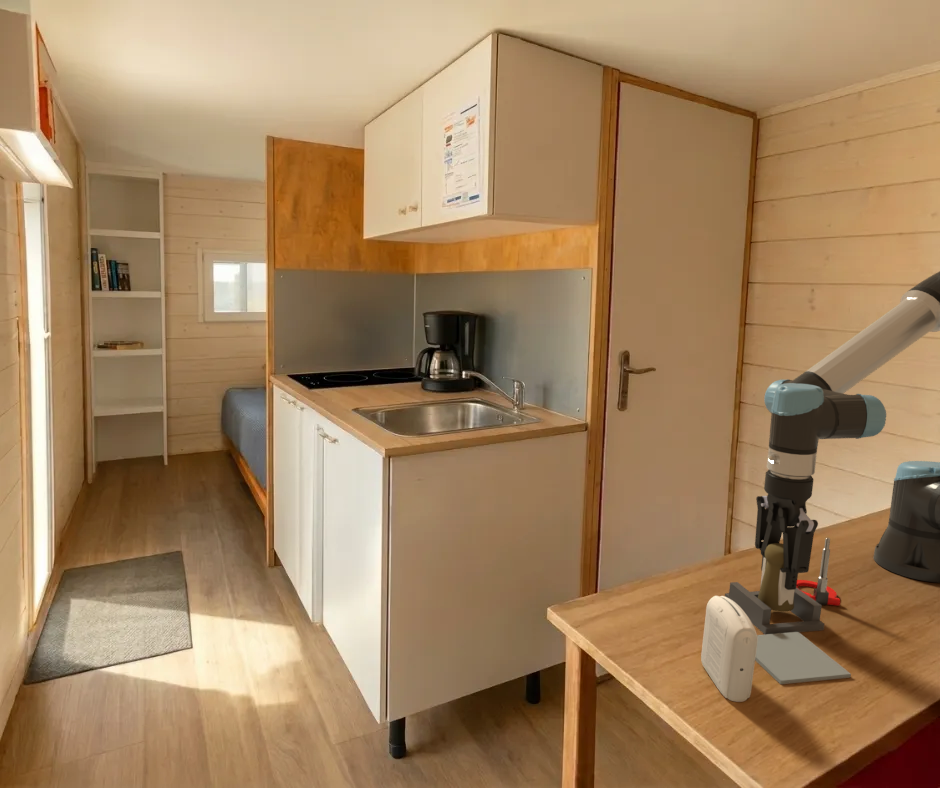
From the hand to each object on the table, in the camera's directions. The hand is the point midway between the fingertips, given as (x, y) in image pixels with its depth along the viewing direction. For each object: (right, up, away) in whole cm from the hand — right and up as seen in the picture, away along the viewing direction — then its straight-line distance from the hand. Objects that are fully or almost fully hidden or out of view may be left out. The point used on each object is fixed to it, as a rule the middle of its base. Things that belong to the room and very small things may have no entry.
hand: (776, 597), depth 117 cm
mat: (-4, -6, -13) cm, 15 cm away
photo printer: (-17, -7, -20) cm, 27 cm away
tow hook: (+11, -2, +9) cm, 14 cm away
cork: (0, -1, 0) cm, 1 cm away
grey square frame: (-1, -3, +1) cm, 3 cm away
